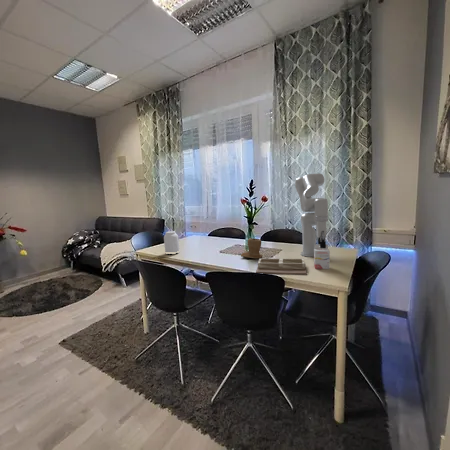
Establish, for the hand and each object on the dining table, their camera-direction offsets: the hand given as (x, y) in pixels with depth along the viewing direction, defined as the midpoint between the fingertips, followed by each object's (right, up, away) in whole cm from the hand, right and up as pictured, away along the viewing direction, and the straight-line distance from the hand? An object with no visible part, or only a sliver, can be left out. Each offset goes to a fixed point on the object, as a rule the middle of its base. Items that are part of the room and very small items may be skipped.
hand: (321, 246), depth 147 cm
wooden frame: (-23, -15, +8) cm, 29 cm away
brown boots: (-39, -12, +36) cm, 54 cm away
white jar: (-107, -13, +66) cm, 126 cm away
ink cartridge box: (+1, -14, +3) cm, 14 cm away
